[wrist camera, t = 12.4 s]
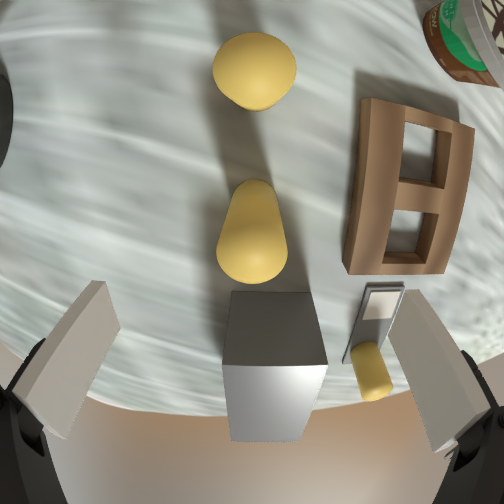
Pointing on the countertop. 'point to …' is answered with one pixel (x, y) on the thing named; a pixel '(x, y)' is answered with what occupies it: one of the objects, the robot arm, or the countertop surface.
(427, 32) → the food container
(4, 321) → the countertop surface
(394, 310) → the grey and yellow fixture
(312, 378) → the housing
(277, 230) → the peg
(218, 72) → the peg
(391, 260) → the socket board
